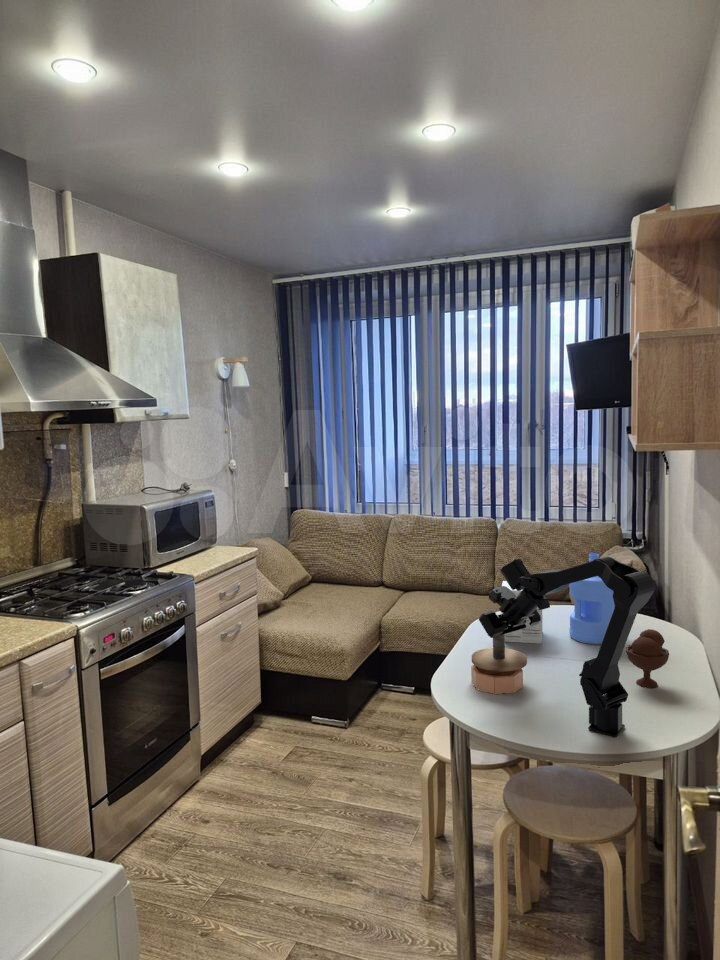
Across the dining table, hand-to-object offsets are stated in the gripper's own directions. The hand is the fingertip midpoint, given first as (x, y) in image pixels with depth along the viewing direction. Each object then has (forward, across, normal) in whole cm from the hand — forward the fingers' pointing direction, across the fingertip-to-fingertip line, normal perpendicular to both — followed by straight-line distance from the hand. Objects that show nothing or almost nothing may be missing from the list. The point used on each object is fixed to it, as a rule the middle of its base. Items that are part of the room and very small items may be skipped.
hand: (494, 634), depth 180 cm
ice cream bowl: (-9, -31, +28) cm, 43 cm away
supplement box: (+25, -35, -6) cm, 44 cm away
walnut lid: (+4, 0, +6) cm, 7 cm away
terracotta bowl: (+9, +1, +10) cm, 14 cm away
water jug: (+14, -52, +5) cm, 54 cm away
